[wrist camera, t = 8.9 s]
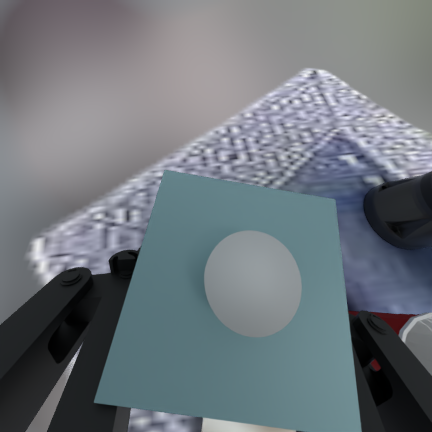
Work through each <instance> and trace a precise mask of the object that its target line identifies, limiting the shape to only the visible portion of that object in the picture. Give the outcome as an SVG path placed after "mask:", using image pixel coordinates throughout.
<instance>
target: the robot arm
mask: <svg viewBox="0 0 432 432" xmlns="http://www.w3.org/2000/svg"><path fill="white" fill-rule="evenodd" d="M364 209H365V214H366V217H367V219H368V221H369V223H370V224H371V226H372V227H373V229H374V230H375V231H376V232H377V233H378V234H379V235H380V236H381V237H382V238H383V239H384V240H386V241H387V242H389V243H390V244H392V245H394V246H396V247H399V248H402V249H410V250H411V249H422V248H428V247H432V171H431V172H429V173H426V174H424V175H420V176H415V177H410V178H405V179H400V180H395V181H390V182H386V183H383V184H381V185H379V186H377V187H375V188H373V189H371V190H370V191H369V192H368V193H367V195H366V197H365V200H364ZM140 249H141V248H139V249H138V251H135V250H124V251H121V252H118V253H116V254H114V255H113V256H112V257H111V258H110V259H109V264H110V270H111V273H106V274H96V275H92V274H91V271H90V270H89V269H88V268H84V267H76V268H72V269H69V270H66V271H64V272H62V273H60V274H59V275H57V276H56V277H54V278H53V279H52V280H51V281H50V282H49V283H48V284H46V285H45V286H44V287H43V288H42V289H41V290H40V291H38V292H37V293H36V294H35V295H34V296H33V297H32V298H30V299H29V300H28V301H27V302H26V303H25V304H24V305H23V306H21V307H20V308H19V309H18V310H17V311H16V312H14V313H13V314H12V315H11V316H10V317H9V318H8V319H7V320H5V321H4V322H3V323H2V324H1V325H0V432H25V431H26V430H27V428H28V427H29V425H30V424H31V422H32V420H33V419H34V417H35V416H36V414H37V413H38V411H39V410H40V408H41V406H42V405H43V403H44V402H45V400H46V399H47V397H48V395H49V394H50V392H51V391H52V389H53V388H54V386H55V385H56V383H57V381H58V380H59V378H60V377H61V375H62V374H63V372H64V371H65V369H66V367H67V366H68V364H69V363H70V361H71V360H72V358H73V357H74V355H75V353H76V352H77V350H78V349H79V347H80V346H81V344H82V342H83V341H84V342H83V344H82V347H81V349H80V352H79V354H78V357H77V359H76V362H75V364H74V366H73V369H72V371H71V374H70V376H69V379H68V381H67V384H66V386H65V389H64V391H63V393H62V396H61V398H60V401H59V403H58V406H57V408H56V411H55V413H54V415H53V418H52V420H51V423H50V425H49V428H48V430H47V432H127V431H128V424H129V417H130V410H131V408H129V407H122V406H115V405H107V404H100V403H94V400H95V396H96V393H97V390H98V387H99V383H100V380H101V377H102V374H103V370H104V367H105V364H106V360H107V357H108V354H109V351H110V347H111V344H112V341H113V338H114V334H115V331H116V328H117V324H118V321H119V318H120V315H121V311H122V308H123V305H124V302H125V298H126V295H127V292H128V288H129V285H130V282H131V279H132V275H133V272H134V269H135V265H136V262H137V259H138V256H139V252H140ZM348 316H349V325H350V334H351V343H352V351H353V360H354V369H355V378H356V386H357V395H358V404H359V413H360V422H361V430H362V432H432V375H431V374H430V373H429V372H428V371H427V370H426V368H425V367H424V366H423V365H422V364H421V362H420V361H419V360H418V359H417V358H416V356H415V355H414V354H413V353H412V352H411V350H410V349H409V348H408V347H407V346H406V344H405V343H404V342H403V341H402V340H401V338H400V337H399V336H398V335H397V334H396V332H395V331H394V330H393V329H392V328H391V327H390V326H389V325H388V324H387V323H386V322H385V321H384V320H382V319H381V318H380V317H378V316H376V315H375V314H373V313H371V312H368V311H360V312H359V313H358V314H357V315H356V316H355V315H352V314H350V313H348ZM84 339H85V340H84ZM375 359H376V361H377V363H378V364H379V366H380V367H381V368H380V369H379V370H378V371H376V370H375V369H374V368H373V366H372V365H371V362H372V361H374V360H375ZM296 432H304V431H296Z"/></svg>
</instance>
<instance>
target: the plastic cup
mask: <svg viewBox="0 0 432 432" xmlns="http://www.w3.org/2000/svg"><path fill="white" fill-rule="evenodd" d="M348 313H350V314H352V315H355V316H356V315H357V314H358V313H359V312H357V311H348ZM371 313H373V314H375V315H376V316H378V317H380V318H381V319H382V320H384V321H385V322H386V323H387V324H388V325H389V326H390V327H391V328H392V329H393V330H394V331H395V332H396V334H397V335H398V336H399V337H400V338H401V340H402V341H403V342H404V343H405V344H406V346H407V347H408V348H409V349H410V350H411V352H412V353H413V354H414V355H415V356H416V358H417V359H418V360H419V361H420V362H421V364H422V365H423V366H424V367H425V368H426V370H427V371H428V372H429V373H430V374H431V375H432V313H423V314H420V315H419V314H418V315H414V314H409V315H408V314H390V313H378V312H371ZM371 365H372V366H373V368H374V369H375V370H376V371H378V370H379V369H380V368H381V367H380V366H379V364H378V363H377V361H376V359H375V360H374V361H372V362H371Z"/></svg>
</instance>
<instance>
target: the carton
mask: <svg viewBox="0 0 432 432" xmlns="http://www.w3.org/2000/svg"><path fill="white" fill-rule="evenodd" d="M94 403H100V404H107V405H115V406H122V407H129V408H136V409H144V410H151V411H158V412H165V413H173V414H180V415H187V416H195V417H202V418H209V419H216V420H224V421H231V422H238V423H245V424H253V425H260V426H267V427H275V428H282V429H289V430H296V431H304V432H362V430H361V422H360V413H359V404H358V395H357V386H356V378H355V369H354V360H353V351H352V343H351V334H350V325H349V316H348V307H347V299H346V290H345V281H344V272H343V264H342V255H341V246H340V237H339V228H338V220H337V211H336V202H335V199H331V198H325V197H319V196H313V195H308V194H302V193H296V192H290V191H284V190H278V189H273V188H267V187H261V186H255V185H249V184H243V183H238V182H232V181H226V180H220V179H214V178H209V177H203V176H197V175H191V174H185V173H179V172H174V171H168V170H165V171H164V174H163V177H162V180H161V184H160V187H159V190H158V193H157V197H156V200H155V203H154V207H153V210H152V213H151V216H150V220H149V223H148V226H147V229H146V233H145V236H144V239H143V243H142V246H141V249H140V252H139V256H138V259H137V262H136V265H135V269H134V272H133V275H132V279H131V282H130V285H129V288H128V292H127V295H126V298H125V302H124V305H123V308H122V311H121V315H120V318H119V321H118V324H117V328H116V331H115V334H114V338H113V341H112V344H111V347H110V351H109V354H108V357H107V360H106V364H105V367H104V370H103V374H102V377H101V380H100V383H99V387H98V390H97V393H96V396H95V400H94Z"/></svg>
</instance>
